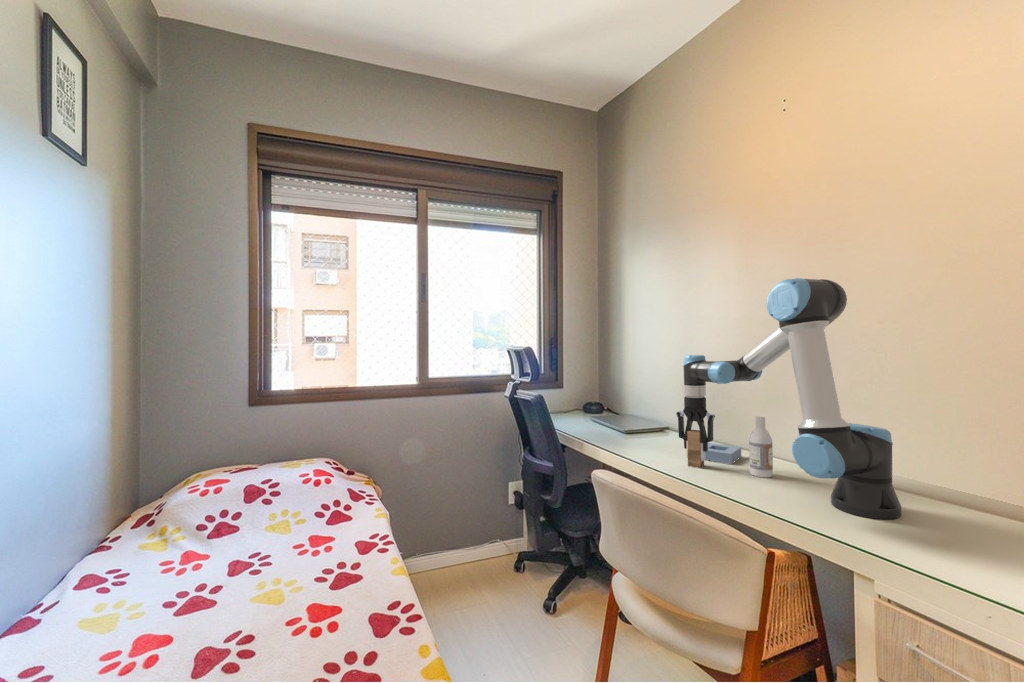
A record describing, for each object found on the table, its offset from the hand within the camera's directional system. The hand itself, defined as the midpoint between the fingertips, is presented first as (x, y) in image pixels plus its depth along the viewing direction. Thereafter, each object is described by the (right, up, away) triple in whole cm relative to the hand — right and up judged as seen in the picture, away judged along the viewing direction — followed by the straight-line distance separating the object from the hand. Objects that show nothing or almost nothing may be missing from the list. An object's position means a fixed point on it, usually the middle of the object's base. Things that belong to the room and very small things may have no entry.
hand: (696, 458), depth 164 cm
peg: (0, -3, 0) cm, 3 cm away
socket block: (+13, -2, +10) cm, 16 cm away
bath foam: (+18, -3, -12) cm, 21 cm away
